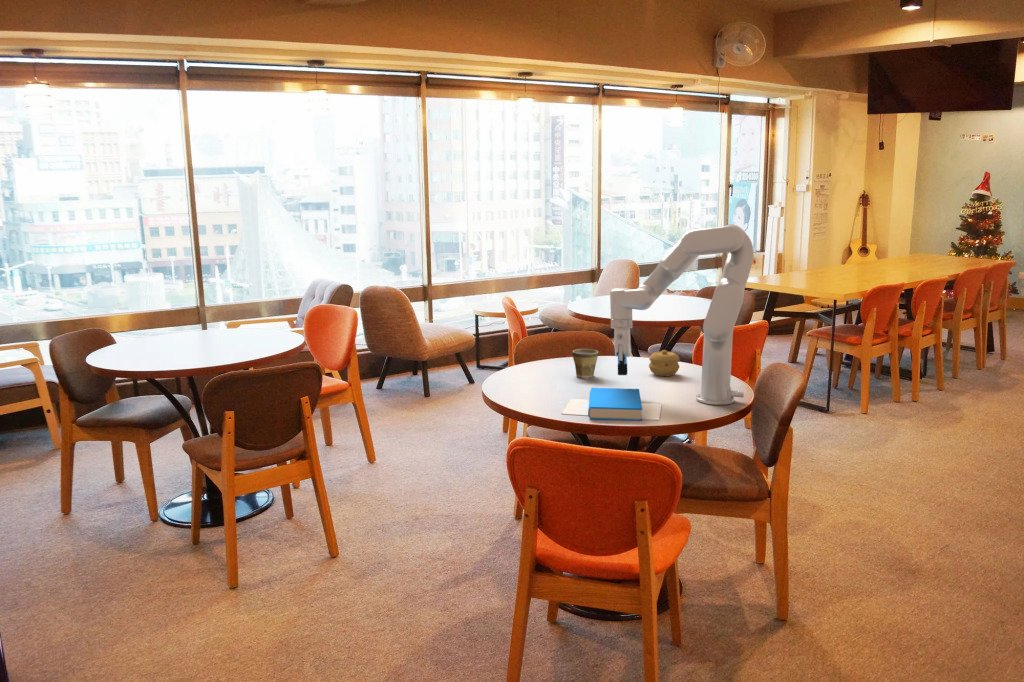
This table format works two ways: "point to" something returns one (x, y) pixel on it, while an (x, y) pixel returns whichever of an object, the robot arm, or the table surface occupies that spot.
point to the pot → (664, 363)
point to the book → (615, 404)
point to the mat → (582, 406)
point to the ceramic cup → (585, 362)
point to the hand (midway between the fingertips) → (622, 374)
